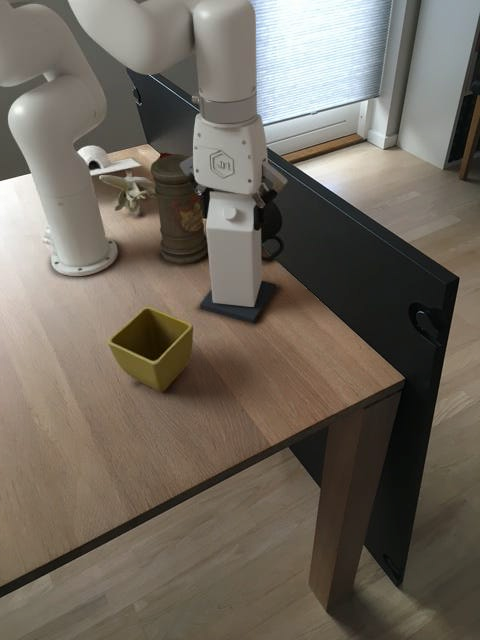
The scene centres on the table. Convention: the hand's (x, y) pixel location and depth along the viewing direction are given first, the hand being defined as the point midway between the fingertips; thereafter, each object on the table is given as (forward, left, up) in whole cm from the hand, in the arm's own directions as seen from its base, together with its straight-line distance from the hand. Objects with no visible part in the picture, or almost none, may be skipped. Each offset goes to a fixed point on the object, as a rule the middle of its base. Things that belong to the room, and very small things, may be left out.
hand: (234, 219), depth 83 cm
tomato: (-32, +34, -9) cm, 48 cm away
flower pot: (-3, -21, -16) cm, 27 cm away
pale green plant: (-36, +21, -16) cm, 44 cm away
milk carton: (0, 0, -15) cm, 15 cm away
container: (-16, +9, -16) cm, 24 cm away
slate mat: (0, 0, -16) cm, 16 cm away
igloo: (-49, +26, -13) cm, 57 cm away
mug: (-2, +20, -13) cm, 24 cm away
